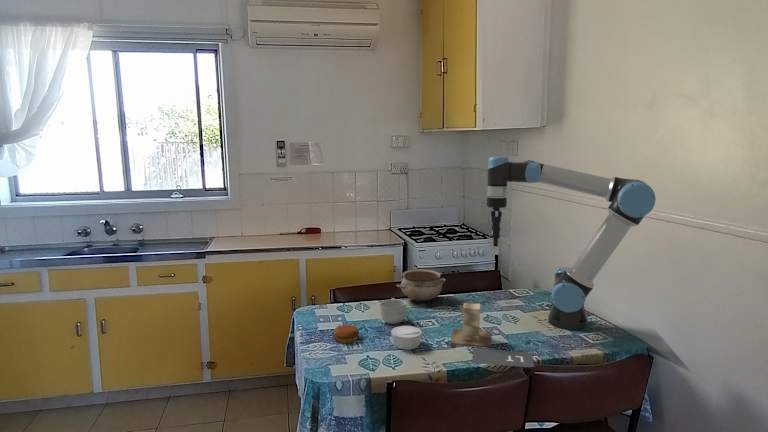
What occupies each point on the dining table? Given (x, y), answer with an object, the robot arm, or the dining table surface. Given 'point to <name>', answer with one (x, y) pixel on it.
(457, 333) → the walnut board
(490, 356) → the mat
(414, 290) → the cooking pot
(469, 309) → the maple block
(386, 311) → the teacup
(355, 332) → the burger
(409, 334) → the ramekin
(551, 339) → the dining table surface
